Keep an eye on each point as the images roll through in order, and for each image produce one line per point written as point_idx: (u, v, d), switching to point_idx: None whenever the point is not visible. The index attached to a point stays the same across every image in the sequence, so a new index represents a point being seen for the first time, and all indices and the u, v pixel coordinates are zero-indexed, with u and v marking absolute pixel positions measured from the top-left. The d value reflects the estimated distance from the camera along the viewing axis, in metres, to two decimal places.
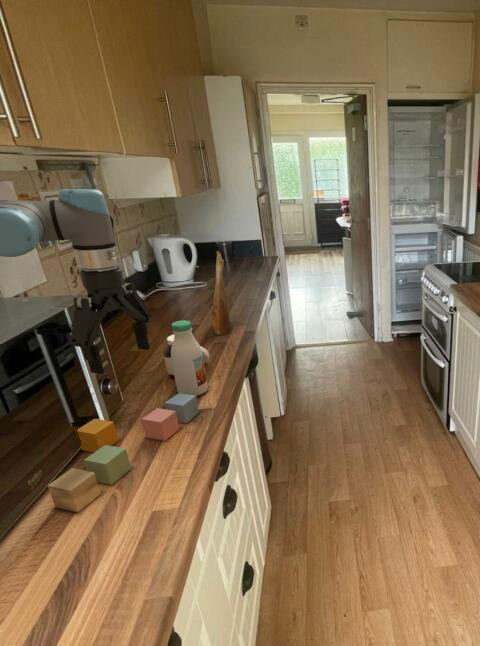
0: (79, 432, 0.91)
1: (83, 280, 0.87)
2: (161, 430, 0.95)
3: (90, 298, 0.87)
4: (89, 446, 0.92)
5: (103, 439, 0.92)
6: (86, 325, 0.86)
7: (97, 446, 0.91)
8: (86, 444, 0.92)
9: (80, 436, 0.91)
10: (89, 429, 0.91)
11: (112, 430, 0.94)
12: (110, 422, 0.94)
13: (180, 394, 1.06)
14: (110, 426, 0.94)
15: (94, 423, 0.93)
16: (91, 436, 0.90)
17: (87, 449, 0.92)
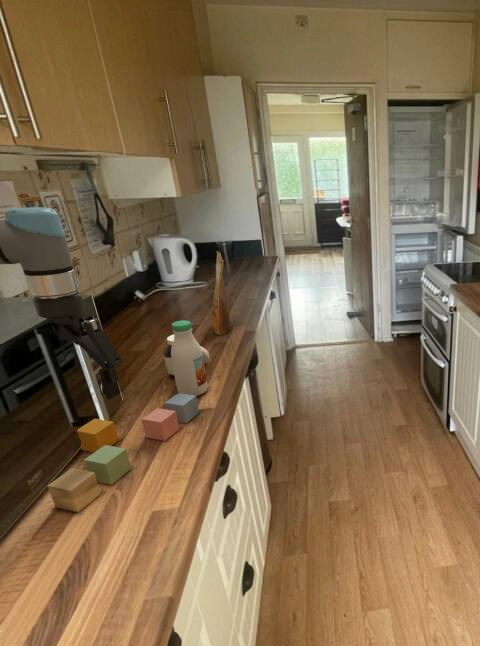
0: (79, 432, 0.91)
1: (69, 306, 0.80)
2: (161, 430, 0.95)
3: None
4: (89, 446, 0.92)
5: (103, 439, 0.92)
6: None
7: (97, 446, 0.91)
8: (86, 444, 0.92)
9: (80, 436, 0.91)
10: (89, 429, 0.91)
11: (112, 430, 0.94)
12: (110, 422, 0.94)
13: (180, 394, 1.06)
14: (110, 426, 0.94)
15: (94, 423, 0.93)
16: (91, 436, 0.90)
17: (87, 449, 0.92)
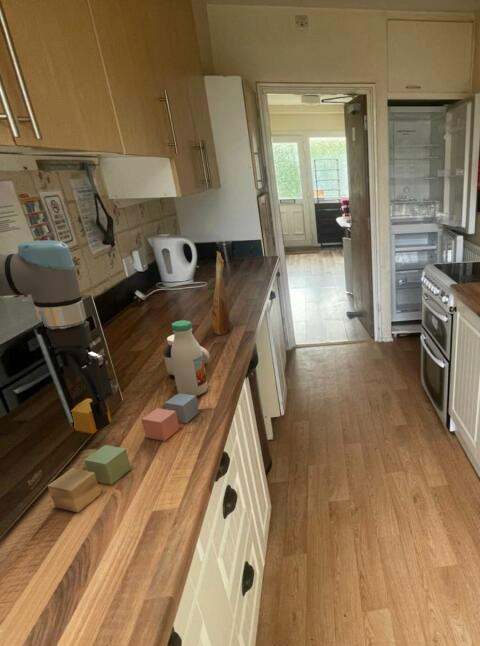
0: (71, 411, 0.89)
1: (77, 336, 0.82)
2: (161, 430, 0.95)
3: None
4: (81, 425, 0.90)
5: None
6: None
7: (89, 426, 0.89)
8: (78, 423, 0.90)
9: (72, 415, 0.89)
10: (81, 409, 0.89)
11: None
12: None
13: (180, 394, 1.06)
14: None
15: (86, 403, 0.91)
16: (83, 415, 0.88)
17: (79, 429, 0.90)
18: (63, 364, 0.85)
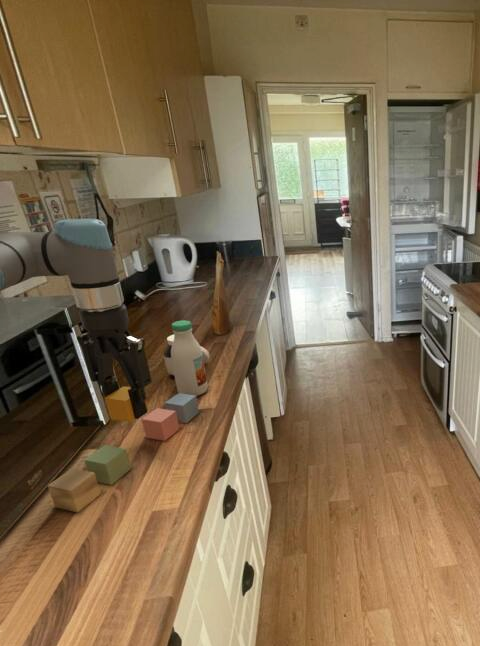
0: (108, 399, 0.85)
1: (115, 319, 0.78)
2: (161, 430, 0.95)
3: None
4: (119, 414, 0.86)
5: None
6: None
7: (128, 414, 0.85)
8: (116, 412, 0.86)
9: (109, 403, 0.85)
10: (118, 397, 0.85)
11: None
12: None
13: (180, 394, 1.06)
14: None
15: (123, 390, 0.88)
16: (121, 403, 0.84)
17: (116, 418, 0.86)
18: (100, 350, 0.82)
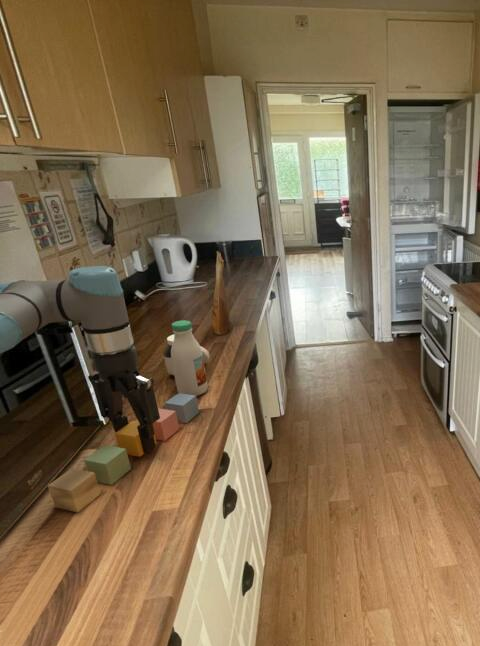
0: (118, 435, 0.88)
1: (126, 361, 0.82)
2: (161, 430, 0.95)
3: None
4: (128, 449, 0.89)
5: None
6: None
7: (137, 449, 0.89)
8: (125, 447, 0.89)
9: (119, 439, 0.89)
10: (128, 432, 0.89)
11: None
12: None
13: (180, 394, 1.06)
14: None
15: (132, 425, 0.91)
16: (131, 438, 0.88)
17: None
18: (111, 389, 0.85)
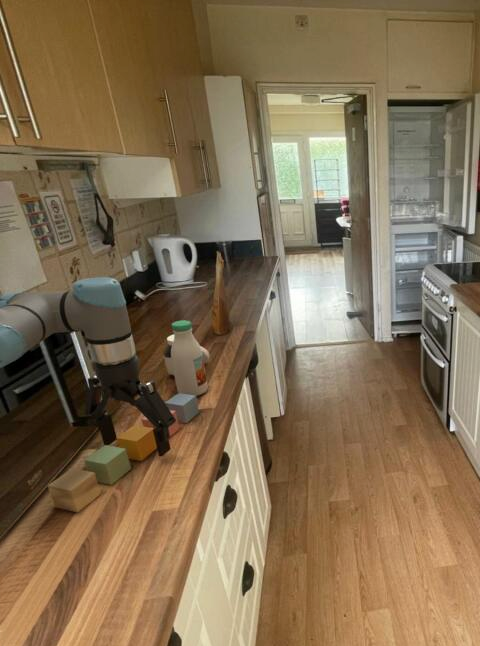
0: (120, 439, 0.89)
1: (128, 371, 0.83)
2: None
3: None
4: (130, 453, 0.90)
5: (144, 446, 0.90)
6: None
7: (138, 453, 0.89)
8: (127, 451, 0.90)
9: (121, 443, 0.89)
10: (129, 436, 0.89)
11: (152, 436, 0.92)
12: (150, 429, 0.92)
13: (180, 394, 1.06)
14: (150, 433, 0.92)
15: (134, 430, 0.91)
16: (132, 443, 0.88)
17: None
18: (109, 396, 0.86)
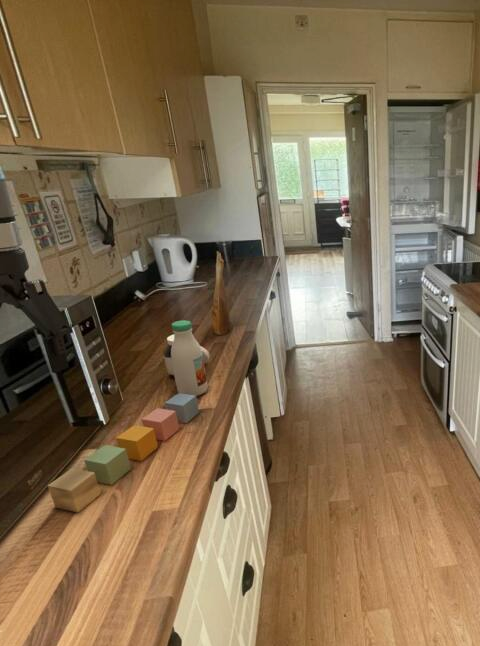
0: (120, 439, 0.89)
1: (8, 263, 0.70)
2: (161, 430, 0.95)
3: None
4: (130, 453, 0.90)
5: (144, 446, 0.90)
6: None
7: (138, 453, 0.89)
8: (127, 451, 0.90)
9: (121, 443, 0.89)
10: (129, 436, 0.89)
11: (152, 436, 0.92)
12: (150, 429, 0.92)
13: (180, 394, 1.06)
14: (150, 433, 0.92)
15: (134, 430, 0.91)
16: (132, 443, 0.88)
17: None
18: None
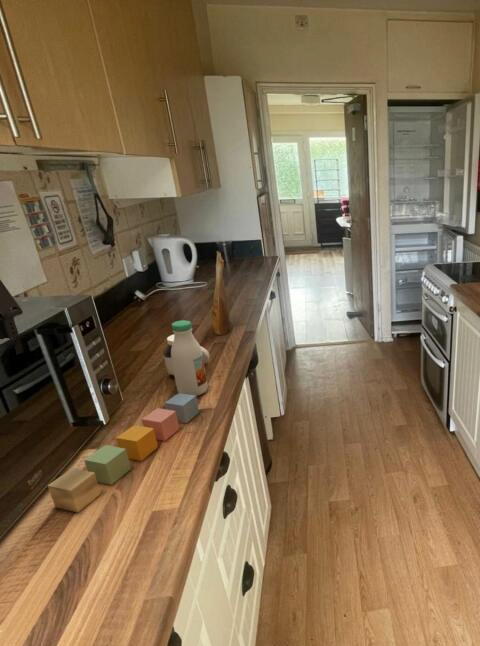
0: (120, 439, 0.89)
1: None
2: (161, 430, 0.95)
3: None
4: (130, 453, 0.90)
5: (144, 446, 0.90)
6: None
7: (138, 453, 0.89)
8: (127, 451, 0.90)
9: (121, 443, 0.89)
10: (129, 436, 0.89)
11: (152, 436, 0.92)
12: (150, 429, 0.92)
13: (180, 394, 1.06)
14: (150, 433, 0.92)
15: (134, 430, 0.91)
16: (132, 443, 0.88)
17: None
18: None
